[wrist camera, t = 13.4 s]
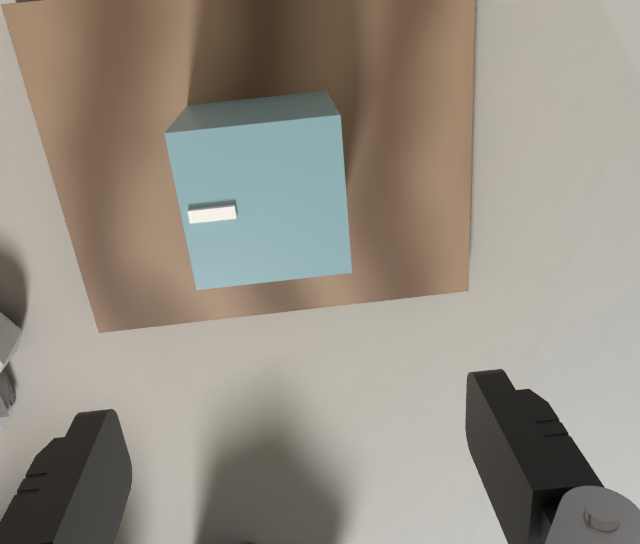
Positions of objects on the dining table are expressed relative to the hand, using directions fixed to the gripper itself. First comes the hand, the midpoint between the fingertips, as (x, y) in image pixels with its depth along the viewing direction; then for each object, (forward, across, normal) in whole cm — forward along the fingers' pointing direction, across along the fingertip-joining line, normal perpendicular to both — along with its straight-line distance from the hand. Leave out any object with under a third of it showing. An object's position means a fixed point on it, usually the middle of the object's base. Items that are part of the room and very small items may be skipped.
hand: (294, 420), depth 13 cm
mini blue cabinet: (+17, +1, -2) cm, 17 cm away
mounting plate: (+18, +1, -2) cm, 18 cm away
